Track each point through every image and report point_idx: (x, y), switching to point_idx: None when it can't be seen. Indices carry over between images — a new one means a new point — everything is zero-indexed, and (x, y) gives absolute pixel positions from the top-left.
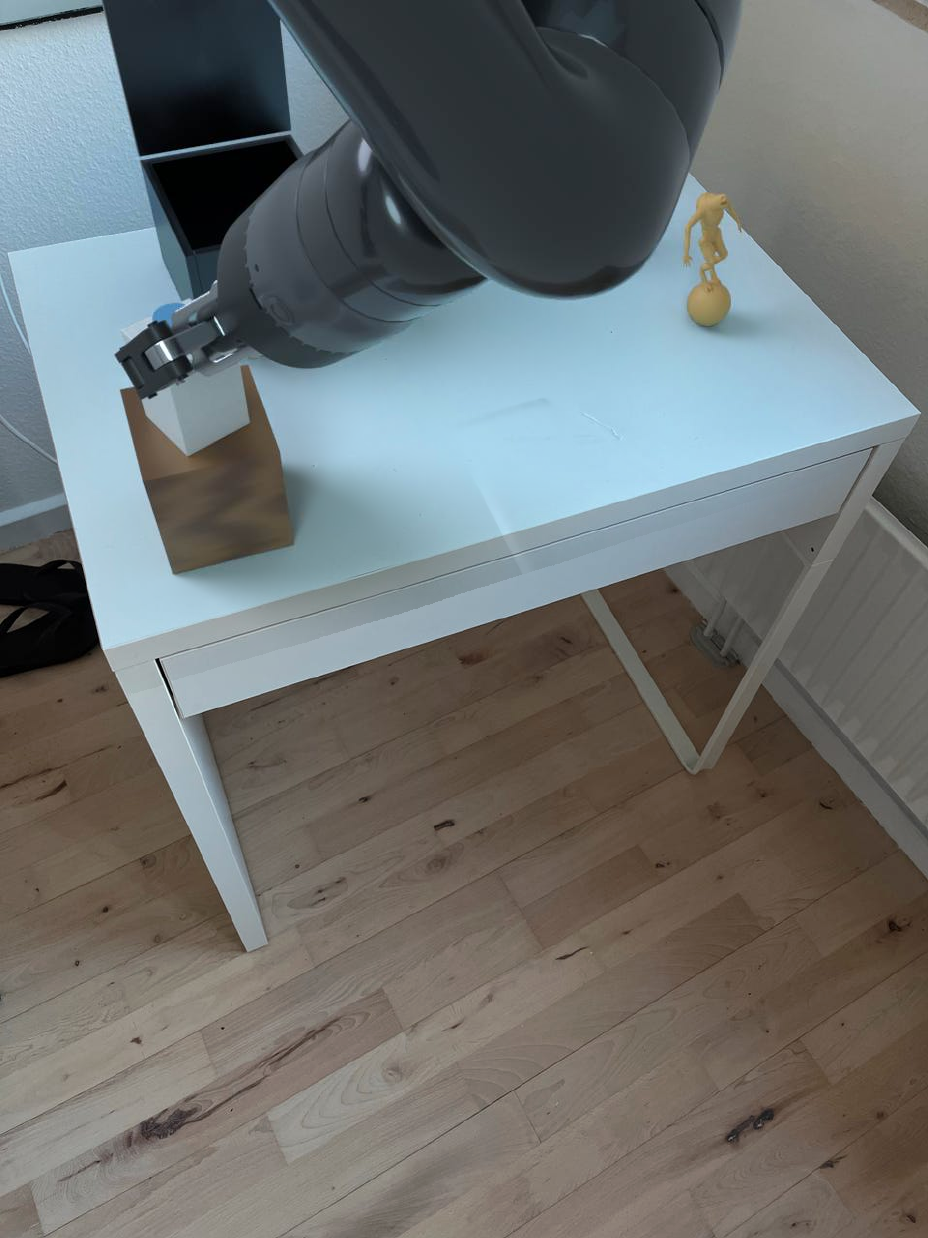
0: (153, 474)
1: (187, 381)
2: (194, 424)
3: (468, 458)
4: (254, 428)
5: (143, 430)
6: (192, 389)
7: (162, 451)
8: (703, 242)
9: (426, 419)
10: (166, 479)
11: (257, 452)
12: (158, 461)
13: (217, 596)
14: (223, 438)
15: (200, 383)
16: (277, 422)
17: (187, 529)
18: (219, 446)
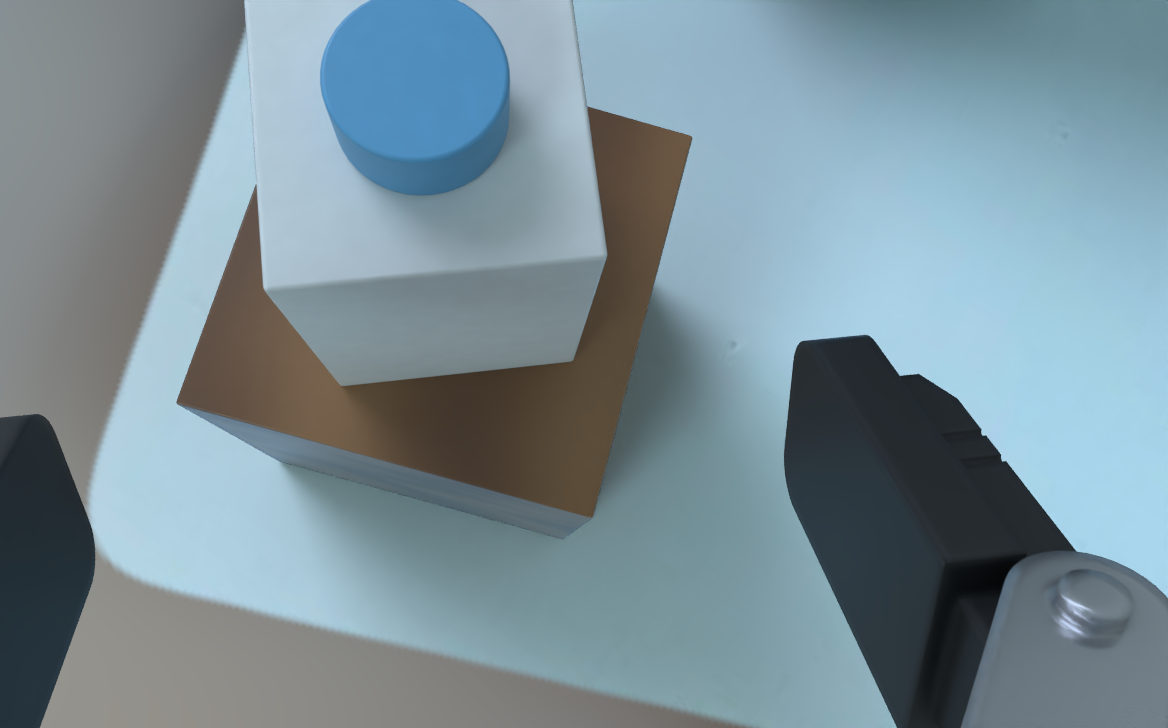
0: (216, 394)
1: (360, 310)
2: (374, 358)
3: (1082, 535)
4: (574, 387)
5: None
6: (379, 321)
7: (288, 323)
8: None
9: (1054, 364)
10: (246, 424)
11: (529, 486)
12: (257, 353)
13: (331, 577)
14: (472, 374)
15: (417, 313)
16: (727, 174)
17: (309, 459)
18: (443, 399)
